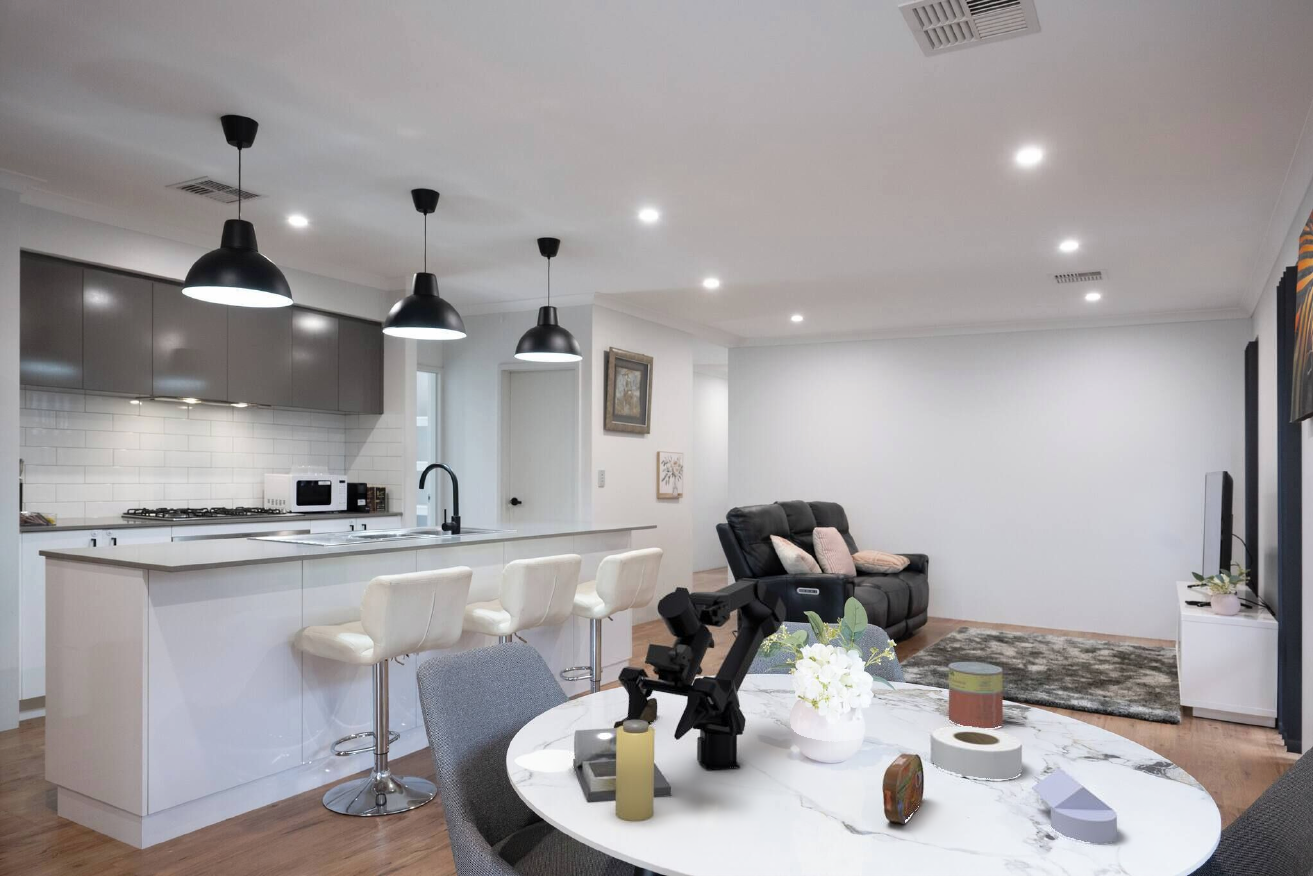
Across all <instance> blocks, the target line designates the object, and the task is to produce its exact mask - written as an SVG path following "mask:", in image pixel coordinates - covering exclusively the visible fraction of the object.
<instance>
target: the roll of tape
mask: <svg viewBox="0 0 1313 876" xmlns="http://www.w3.org/2000/svg"><path fill="white" fill-rule="evenodd" d="M1022 746H1023V744H1022V742H1021V741H1020V739H1019V738H1017V737H1015V736H1013V735H1011V734H1010V733H1009V734H1008V733H1007V732H1002V731H999V730H996V729H995V730H990V729H985V728H977V727H961V726H947V727H941V728H937V729H934V730H933V731H932V732H930V761H932V762H933V763H934V764H935V765H936V766H937V767H940V768H941V769H944V770H947V771H950V772H954V773H956V774H961V775H964V776H973V777H978V778H986V779H987V778H988V779H989V778H990V779H1008V778H1013V777H1016V776H1018V775H1019V774H1021V772H1022V773H1023V757H1022V756H1023V747H1022ZM932 762H931V763H932ZM1021 775H1022V774H1021Z"/></svg>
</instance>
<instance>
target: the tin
mask: <svg viewBox="0 0 1313 876" xmlns="http://www.w3.org/2000/svg"><path fill="white" fill-rule="evenodd" d="M924 779H925V775H924V766H923V762H922V758H921V756H920V755H919V754H917V753H916V754H910V753H901V754H899V756H898V757H896V759H894V760H893V762H891V764H890V765H889V766H888V767H887V768H886V770H885V772H884V775H883V779H882V780H883V781H882V786H881V787H882V789H881V790H882V796H883V799H882V800H883V813H884V815H885V816H884V817H885V818H886V820H887V821H889V822H892V823H897V824H898V823H899V824H902V825H906V824H905V820H906V819H908V817H910V815H911V814H912V813H913V812H915V810H916V809H917V808H918V806H920V807H921V805H922V801H923V797H924V789H925V784H924V782H925V780H924ZM920 804H921V805H920ZM915 813H916V812H915Z"/></svg>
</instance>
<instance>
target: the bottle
mask: <svg viewBox="0 0 1313 876" xmlns="http://www.w3.org/2000/svg"><path fill="white" fill-rule="evenodd" d="M655 731H656V730H655V728H654V727H653V726H650V725H649V723H648V722H646V721H643V720H628V721H625V722H623V726H620V727H618V728H617V742H616V800H615V816H616V817H617V818H619V819H620V820H622V821H623V820H624V821H629V822H641V821H646V820H648V819H651V818H652V817H653V816H654V808H655V807H654V805H655V804H654V803H655V801H654V800H655V799H654V798H655V797H654V763H655V737H656V736H655V734H656V733H655Z"/></svg>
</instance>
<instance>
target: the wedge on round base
mask: <svg viewBox="0 0 1313 876" xmlns="http://www.w3.org/2000/svg"><path fill="white" fill-rule="evenodd" d="M1030 789H1031V790H1032V791H1033V792H1034V793H1036V794H1037V795H1038V796H1039V797H1040V798H1041V799H1042V800H1043V801H1044V802H1045V803H1046V804H1048V805H1049V806H1050V828H1051V827H1052V828H1053V829H1055V831H1057V832H1059V833H1061V834H1062V835H1064V836H1066V837H1070V838H1074V839H1076V840H1081V841H1084V842H1090V843H1097V844H1096V845H1106V844H1105V843H1109V844H1112V843H1111V842H1113V843H1115V842H1116V841H1117V840H1118V816H1117V815H1118V814H1117V811H1115V810H1114V809H1112V807H1110V806H1109V805H1108V804H1106V803H1105V802H1104V801H1103V800H1101V799H1100V798H1099V797H1097V796H1096V795H1095V794H1093V792H1091V791H1090V790H1089V789H1087V788H1086V787H1085V786H1084V785H1082V784H1081V783H1079V782H1078V781H1076V780H1075V778H1073V777H1071V776H1070V775H1069V774H1068V773H1066V772H1065V771H1064V770H1062V769H1061V767H1058V768H1056V769H1055V770H1053V772H1051V773H1050V774H1048V775H1047V776H1045V777H1044V778H1043V779H1041V780H1040V781H1039V782H1037V783H1036V784H1034V785H1033V786H1032V787H1030ZM1052 828H1051V829H1052ZM1116 839H1117V840H1116ZM1115 840H1116V841H1115ZM1114 841H1115V842H1114Z"/></svg>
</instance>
